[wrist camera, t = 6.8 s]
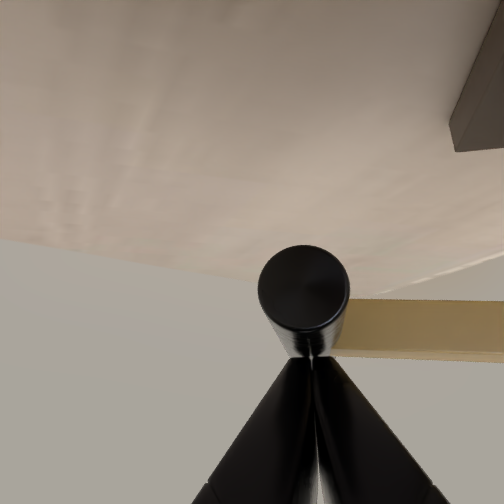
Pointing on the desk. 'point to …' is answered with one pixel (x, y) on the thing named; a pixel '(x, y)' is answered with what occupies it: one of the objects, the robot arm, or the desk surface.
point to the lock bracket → (483, 96)
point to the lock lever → (369, 316)
